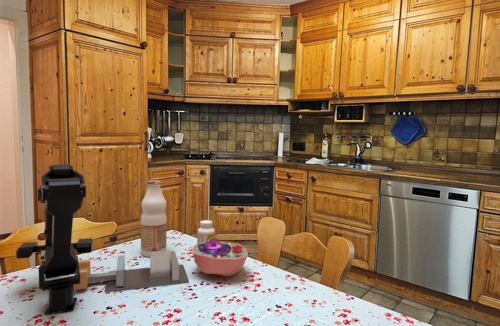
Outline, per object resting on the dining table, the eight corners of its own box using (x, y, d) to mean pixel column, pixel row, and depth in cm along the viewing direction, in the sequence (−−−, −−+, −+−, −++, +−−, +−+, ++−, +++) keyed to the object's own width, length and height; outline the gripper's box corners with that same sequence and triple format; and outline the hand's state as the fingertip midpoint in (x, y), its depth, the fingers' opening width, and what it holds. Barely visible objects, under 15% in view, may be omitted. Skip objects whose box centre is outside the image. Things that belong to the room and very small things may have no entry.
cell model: (225, 291, 98) (226, 254, 97) (180, 272, 110) (180, 239, 109) (258, 273, 112) (259, 240, 111) (215, 258, 124) (215, 229, 123)
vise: (188, 282, 103) (189, 263, 102) (104, 292, 95) (104, 272, 95) (183, 266, 115) (183, 249, 115) (108, 273, 107) (108, 256, 107)
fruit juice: (139, 258, 121) (139, 182, 119) (141, 249, 130) (142, 179, 128) (166, 257, 123) (166, 182, 121) (166, 248, 132) (167, 179, 130)
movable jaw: (123, 285, 97) (123, 269, 97) (73, 291, 93) (73, 274, 92) (124, 269, 108) (124, 255, 108) (80, 273, 104) (80, 258, 104)
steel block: (170, 276, 105) (170, 254, 105) (150, 278, 103) (150, 256, 103) (168, 271, 109) (169, 250, 109) (149, 273, 107) (150, 252, 107)
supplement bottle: (216, 252, 130) (216, 220, 129) (212, 258, 124) (213, 224, 123) (199, 250, 131) (200, 219, 130) (195, 256, 125) (195, 223, 123)
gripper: (95, 215, 106) (95, 262, 107) (26, 218, 100) (28, 269, 101) (91, 224, 95) (91, 277, 97) (14, 229, 89) (16, 284, 90)
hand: (57, 276), depth 97 cm, fingers closed
